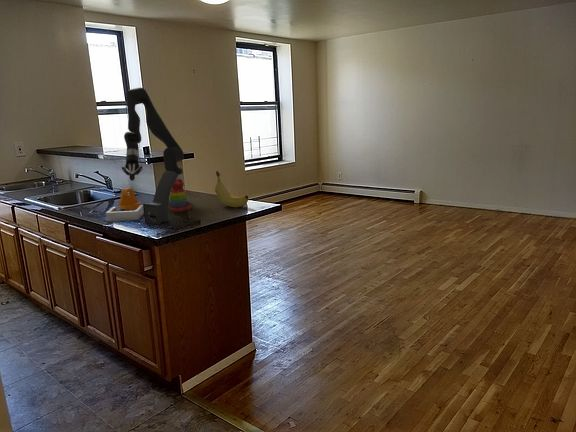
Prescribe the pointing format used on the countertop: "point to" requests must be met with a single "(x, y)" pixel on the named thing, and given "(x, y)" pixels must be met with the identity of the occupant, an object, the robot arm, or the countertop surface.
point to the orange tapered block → (128, 200)
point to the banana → (228, 195)
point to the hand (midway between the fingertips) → (132, 179)
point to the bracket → (124, 214)
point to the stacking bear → (178, 197)
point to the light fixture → (160, 200)
